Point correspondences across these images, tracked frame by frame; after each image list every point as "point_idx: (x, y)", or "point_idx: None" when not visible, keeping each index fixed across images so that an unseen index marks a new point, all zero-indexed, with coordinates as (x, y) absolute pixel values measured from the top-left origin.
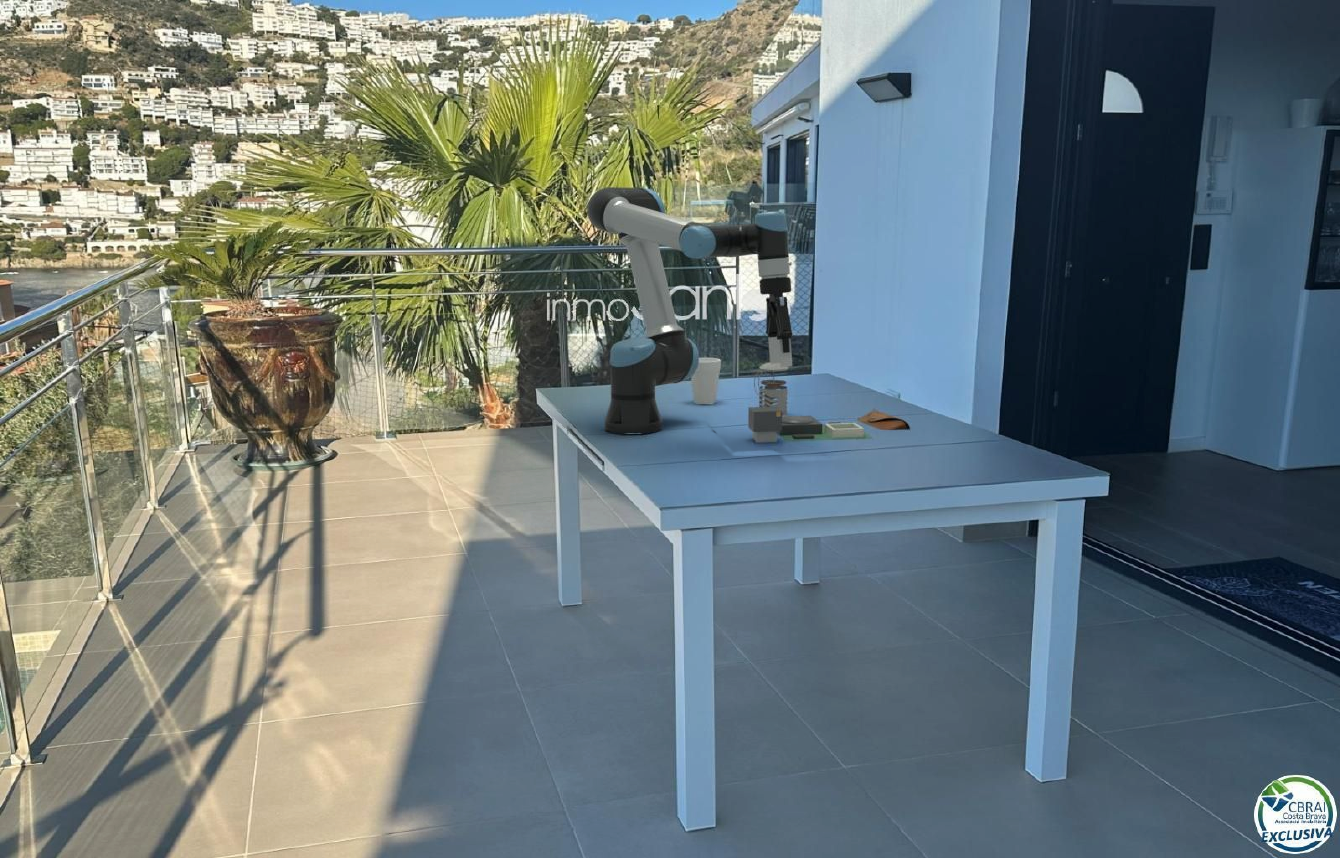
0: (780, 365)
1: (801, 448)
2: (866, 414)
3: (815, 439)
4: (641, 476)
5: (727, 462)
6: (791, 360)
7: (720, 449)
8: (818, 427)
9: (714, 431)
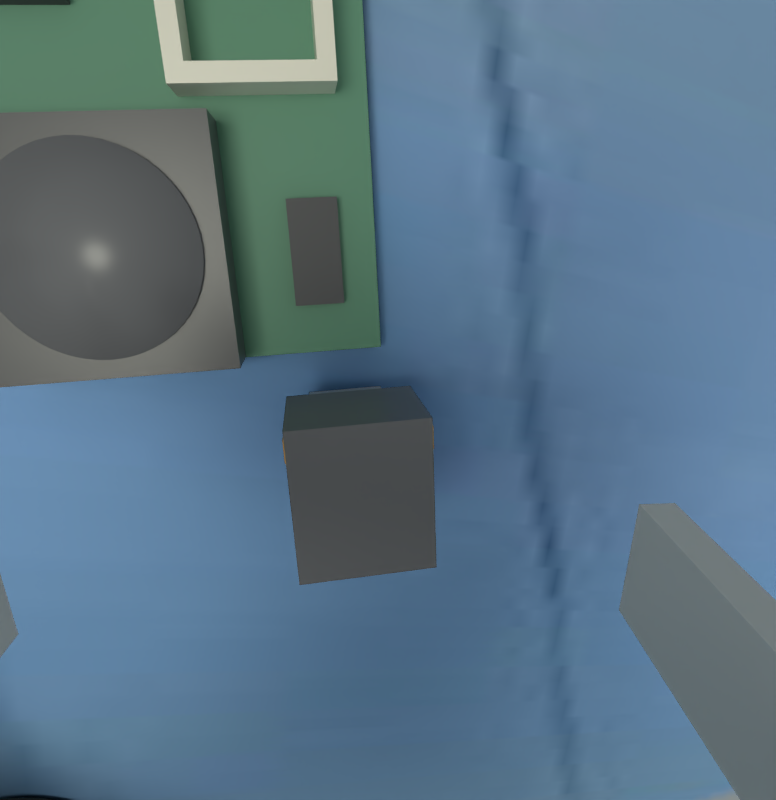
0: (627, 621)
1: (427, 283)
2: None
3: (354, 196)
4: (690, 786)
5: (595, 580)
6: (716, 548)
7: (404, 595)
8: (212, 139)
9: (57, 610)
